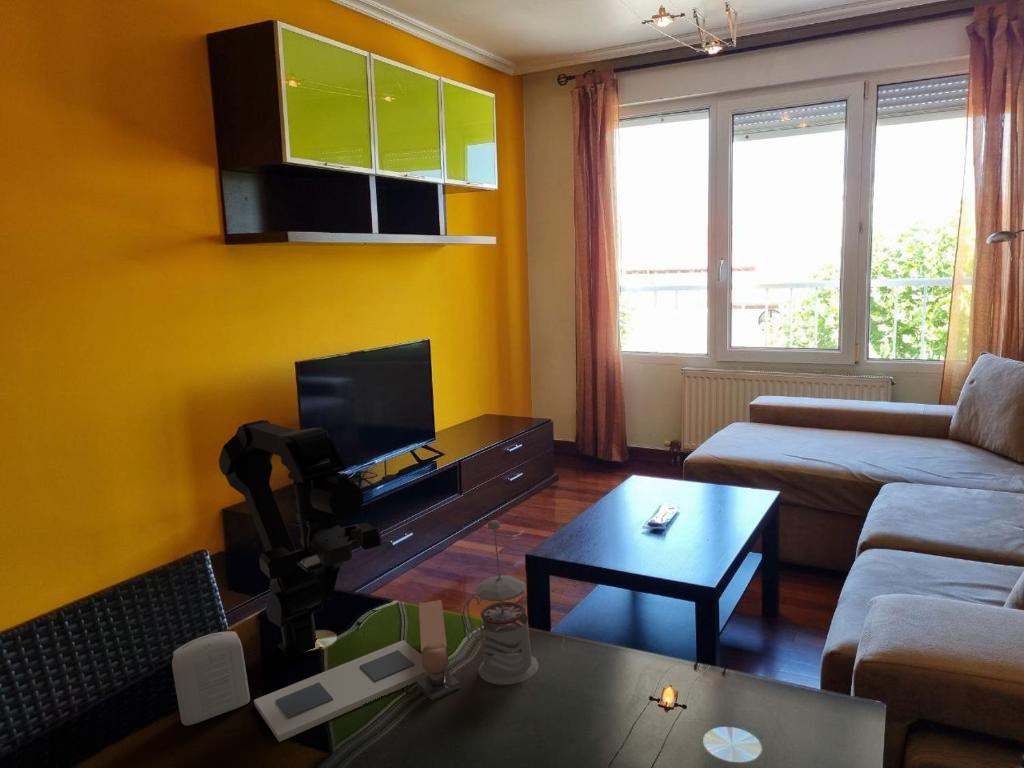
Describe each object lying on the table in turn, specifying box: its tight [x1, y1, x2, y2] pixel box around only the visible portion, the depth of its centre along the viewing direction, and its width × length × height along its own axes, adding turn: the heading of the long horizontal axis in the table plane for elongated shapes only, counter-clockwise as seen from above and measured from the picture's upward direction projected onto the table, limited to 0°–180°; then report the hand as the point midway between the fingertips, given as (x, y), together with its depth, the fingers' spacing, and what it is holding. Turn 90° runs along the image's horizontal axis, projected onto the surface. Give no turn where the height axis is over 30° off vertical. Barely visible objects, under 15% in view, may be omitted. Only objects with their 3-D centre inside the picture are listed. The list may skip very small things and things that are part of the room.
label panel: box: [253, 639, 429, 743], centre depth 119 cm, size 12×26×1 cm, turn 125°
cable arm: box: [418, 599, 450, 673], centre depth 124 cm, size 19×4×3 cm, turn 8°
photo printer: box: [171, 631, 251, 727], centre depth 116 cm, size 10×4×12 cm, turn 123°
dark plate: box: [415, 669, 461, 702], centre depth 117 cm, size 5×5×3 cm
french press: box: [462, 519, 540, 686], centre depth 120 cm, size 10×12×25 cm
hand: (329, 598), depth 123 cm, fingers closed
